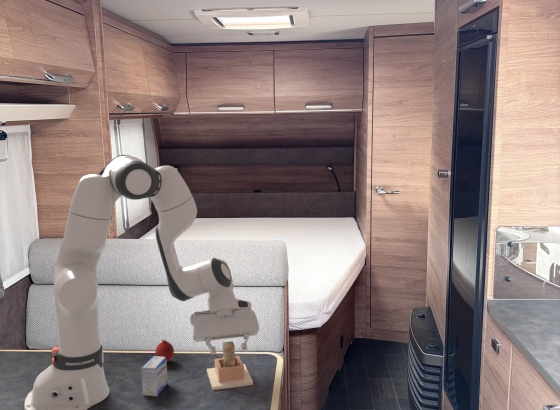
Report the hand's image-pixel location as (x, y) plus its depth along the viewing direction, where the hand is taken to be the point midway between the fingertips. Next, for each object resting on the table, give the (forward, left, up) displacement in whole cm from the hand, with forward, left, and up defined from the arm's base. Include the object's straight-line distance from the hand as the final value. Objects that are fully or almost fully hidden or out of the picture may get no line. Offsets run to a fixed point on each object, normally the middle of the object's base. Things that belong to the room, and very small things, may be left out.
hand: (229, 351), depth 169 cm
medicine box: (-22, 0, -9) cm, 24 cm away
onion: (-18, +17, -9) cm, 26 cm away
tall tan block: (0, +1, -8) cm, 8 cm away
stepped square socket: (0, +1, -9) cm, 9 cm away
